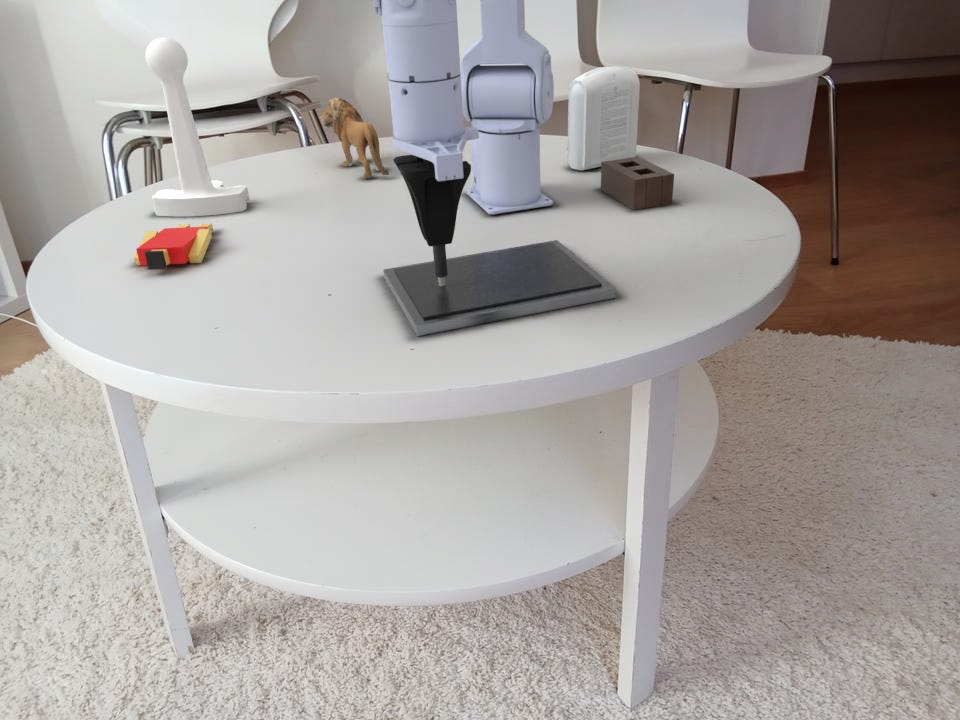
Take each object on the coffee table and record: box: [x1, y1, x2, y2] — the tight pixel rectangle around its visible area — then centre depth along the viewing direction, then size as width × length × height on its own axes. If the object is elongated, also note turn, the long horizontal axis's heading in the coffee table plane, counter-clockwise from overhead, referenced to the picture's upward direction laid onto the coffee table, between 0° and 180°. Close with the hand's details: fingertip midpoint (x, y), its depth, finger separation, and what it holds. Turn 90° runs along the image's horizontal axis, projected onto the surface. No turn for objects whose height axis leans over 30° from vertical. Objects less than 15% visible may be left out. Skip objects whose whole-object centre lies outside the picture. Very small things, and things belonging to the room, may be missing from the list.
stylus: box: [432, 244, 448, 286], centre depth 67 cm, size 1×1×8 cm
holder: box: [600, 156, 675, 211], centre depth 91 cm, size 5×8×4 cm, turn 18°
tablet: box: [382, 239, 616, 337], centre depth 71 cm, size 13×18×1 cm
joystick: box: [144, 36, 251, 218], centre depth 93 cm, size 11×8×20 cm
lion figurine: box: [318, 97, 390, 180], centre depth 107 cm, size 15×5×9 cm, turn 37°
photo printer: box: [567, 66, 641, 171], centre depth 102 cm, size 10×4×12 cm, turn 123°
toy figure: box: [133, 222, 214, 270], centre depth 83 cm, size 2×7×12 cm
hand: (437, 240), depth 67 cm, fingers closed on stylus, 1 cm apart
